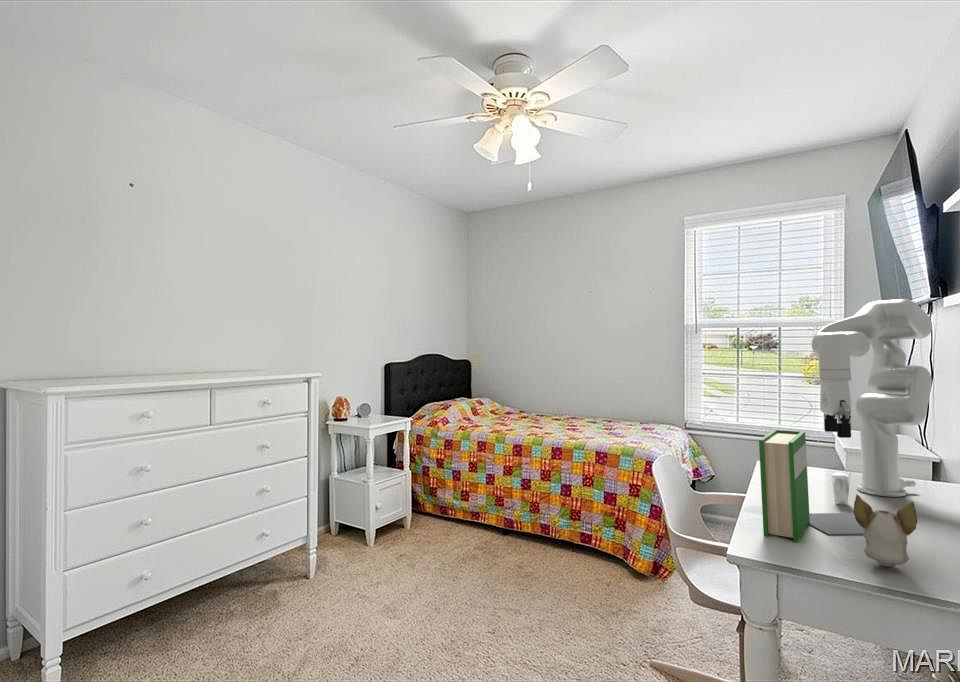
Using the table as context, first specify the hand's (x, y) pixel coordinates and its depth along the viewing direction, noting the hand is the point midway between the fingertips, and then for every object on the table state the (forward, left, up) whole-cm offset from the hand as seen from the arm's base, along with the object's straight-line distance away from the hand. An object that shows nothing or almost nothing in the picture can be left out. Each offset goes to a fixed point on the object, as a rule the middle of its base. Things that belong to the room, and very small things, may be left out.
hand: (837, 434), depth 149 cm
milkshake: (-4, -5, -22) cm, 23 cm away
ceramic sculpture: (+17, +40, -22) cm, 49 cm away
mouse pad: (+7, +13, -22) cm, 26 cm away
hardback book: (+24, +16, -21) cm, 36 cm away
